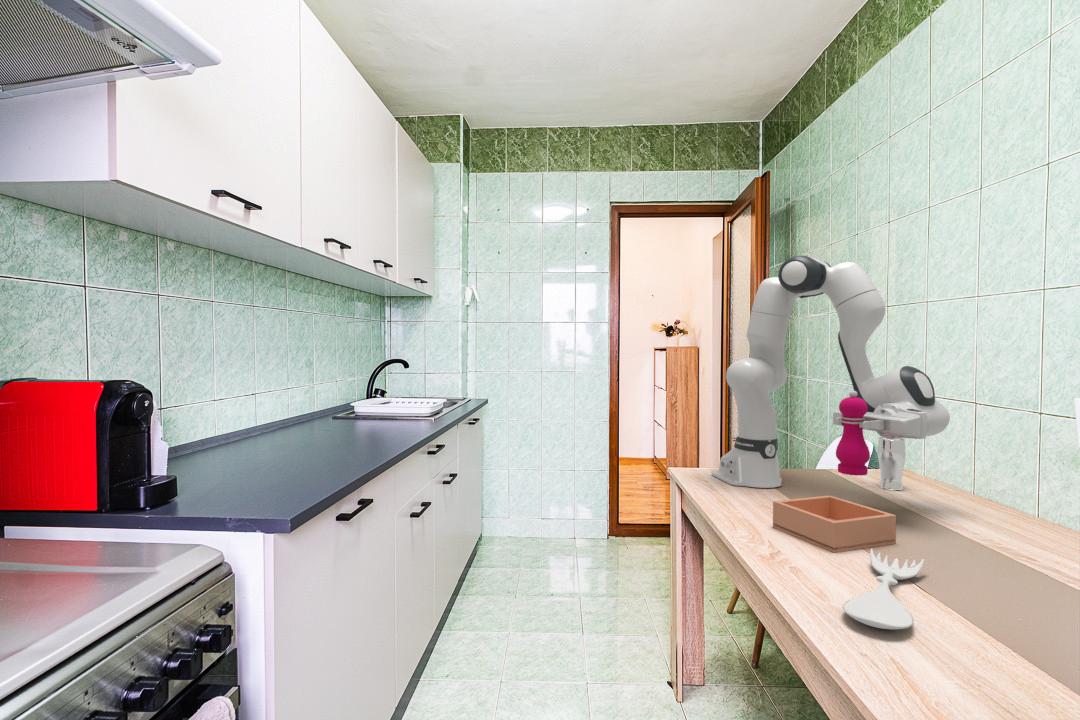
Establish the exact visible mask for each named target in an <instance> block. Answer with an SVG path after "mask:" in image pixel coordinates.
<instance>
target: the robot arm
mask: <svg viewBox="0 0 1080 720" xmlns="http://www.w3.org/2000/svg"><path fill="white" fill-rule="evenodd" d="M777 274H778V276H772V277H768V278H765V279H763V280H762V281H761V282H760V284H759V286H758V289H757V291H756V294H755V296H754V299H753V302H752V303H753V304H752V306H751V307H752V308H751V311H750V316H749V321H748V327H747V331H746V338H747V340H748V344H749V357H744V358H741V359H738V360H736V361H734V362H733V363H731V364H730V365H729V366H728V367H727V370H726V372H725V378H726V383H727V385H728V386H729V388H730V389H731V390H732V393H733V396H734V399H735V404H736V408H737V409H736V410H737V426H738V427H737V436H736V437H732V442H734V445H733V448H732V449H731V450H728V452H726V453H725V454H723V456H721V457H720V459H719V467H718V470H714V471H712V472H711V476H712V477H715V478H716V479H719V480H721V481H723V482H725V483H727V484H728V485H731V486H738V487H740V486H741V487H749V488H761V489H763V488H764V489H767V488H768V489H769V488H770V489H771V488H777V487H778V488H779V487H780V486H782V485H783V484H782V482H783V478H782V477H781V473H780V462H779V455H778V453H777V451H778V449H779V448H778V447H779V442H778V440H779V439H778V438H777V412H776V410H775V409H774V407H773V404H772V401H771V398H770V397H771V396H770V393H773V392H775V391H776V390H778V389H780V388H781V387H783V386H784V384H786V383H787V379H788V370H787V368H786V364H785V363H786V361H785V356H786V355H785V344H786V337H787V331H788V327H789V322H790V317H791V313H792V309H793V308H792V307H793V304H794V302H795V301H796V300H797V299H798V298H799V299H805V298H810V297H818V296H820V295H823V294H824V295H826V296H827V297H828V298H829V300H830V301H831V304H832V306H833V307H834V309H835V311H836V314H837V317H838V323H839V331H838V333H837V340H838V345H839V348H840V352H841V354H842V357H843V360H844V363H845V366H846V370H847V372H848V375H849V378H850V381H851V384H852V387H853V391H856V392H857V394H858V395H857V397H858V398H861V399H863V400H864V401H865V402H866V404H867V408H868V410H867V413H866V414H865V415H864V416H863V418H865V420H864V421H860V422H859V424H860V425H859V427H860V428H862V429H863V430H867V431H873V432H876V433H877V434H878V435H879V436H880V437H884V438H886V439H915V440H917V439H918V440H924V439H926V438H927V437H931V436H934V435H938V434H940V433H942V432H944V430H946V429H947V427H948V425H949V424H950V421H951V420H950V418H951V416H950V413H949V410H948V409H947V407H945V406H944V405H943V404H941V403H940V402H939V401H938V400H937V399H936V393H935V388H934V385H933V383H932V381H931V379H930V377H929V375H927V374H926V373H925V372H923V371H922V370H920V369H918V368H916V367H913V366H909V365H905V366H902V367H900V368H899V367H898V368H897V369H895V370H892V371H890V372H887V373H885V374H883V375H881V376H878V377H875V376H874V373H873V370H872V368H871V364H870V361H869V359H868V357H867V353H866V346H867V342H868V341H869V339H870V337H871V336H872V334H873V333H874V332H875V331H876V330H877V329H878V327H879V326H880V325H881V323H882V322H883V320H884V318H885V314H886V306H885V302H884V300H883V297H882V296H881V294H880V292H879V290H878V289H877V287H876V285H875V284H874V283H873V281H872V279H871V278H870V276H869V275H868V274H867V273H866V271H865V270H864V269H863V268H862V267H861V266H860V264H858V263H857V262H853V261H844V262H840V263H837V264H835V265H833V266H831V265H830V264H829V263H828V262H826V261H825V260H821V258H817V257H814V256H807V255H794V256H792V257H790V258H787V259H786V260H785V261H784V262H783V263H781V265H780V267H779V270H778V273H777ZM842 416H843V414H842V413H841V412H840V410H834V411H833V413H832V423H833V425H836V426H841V427H843V423H842V422H841V421H842V418H841V417H842Z"/></svg>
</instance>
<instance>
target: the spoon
mask: <svg viewBox="0 0 1080 720" xmlns="http://www.w3.org/2000/svg"><path fill="white" fill-rule="evenodd" d="M881 557H882V556H881V552H878V554H877V556H876V555H875V553H874V549H873V548H871V549H870V551H869V561H870V564H871V566H872V568H873V569H874V570H875V571H876V572H877V573H878V574H880V575H878V576H876V578H875V579H876V581H877V582H879V583H881V584H880V585H879V587H877V588H875V589H873V590H872V591H868V592H866V593H863V594H860V595H857V596H854V597H852V598H850V599H848V600H847V601H845V602H844V603H843V604H842V610H843V611H844V613H846V614H847V615H848V616H849V617H850V618H852V619H854V620H855V621H858V622H860V623H862V624H863V625H866V626H869V627H873V628H877V629H881V630H882V629H884V630H892V631H893V630H903V629H909V628H910V627H911V626H913V625H914V617H913V614H912V613H911V612H910V611H909V609H908V608H907V607H906V606H905V605H903V604H902V603H901V601H899V599H898V598H896V596H895V595H894V594H893V593H892V592H891V590H890V586H895V585H898V583H899V582H898V581H900V580H902V581H903V580H908V579H911V578H914V577H916V576H917V575H918V574H919V573H920V571H922V569H923V568H924V566H925V559H924V558H922V559H921V561H920V562H919V563H918V564H917V562H916V559H914V560H913V561H912V563H911V564H910V566H909V560H908V558H907V559H906V560H904V564H903V565H902V567H901V566H900V560H899V558H898V557H896V558H894V559H893V562H892V563H891V565H889V557H888V555H887V554H886V555H885V557H884V559H883V561H882V558H881Z"/></svg>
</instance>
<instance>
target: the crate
mask: <svg viewBox="0 0 1080 720" xmlns="http://www.w3.org/2000/svg"><path fill="white" fill-rule="evenodd" d="M772 528H774V529H777V530H779V531H780V532H781V531H782V532H784V533H786V534H788V535H791V536H792V537H793V536H794V537H796V538H798V539H800V540H803V541H805V542H808V543H810V544H813V545H815V546H817V547H820V548H822V549H825V550H827V551H829V552H832V553H841V552H847V551H854V550H861V549H868V548H875V547H880V546H887V545H894V544H896V542H897V536H896V535H897V533H896V531H897V515H896V514H893V513H890V512H887V511H883V510H879V509H876V508H873V507H869V506H866V505H864V504H863V505H862V504H860V503H857V502H854V501H850V500H846V499H842V498H840V497H837V496H833V495H823V496H822V495H820V496H813V497H804V498H791V499H781V500H775V501H772Z"/></svg>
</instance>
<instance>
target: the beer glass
mask: <svg viewBox="0 0 1080 720" xmlns="http://www.w3.org/2000/svg"><path fill="white" fill-rule="evenodd" d="M905 442H906V438H902V439H886V438H884V437H882V436H880V437H878V444H877V457H878V466H879V471H880V481H879V485H878V486H880V487H882V488H886V489H893V490H902V489H903V490H904V486H903V472H904V467H905V463H906V443H905ZM880 487H879V488H880ZM882 488H881V489H882ZM903 490H902V491H903Z"/></svg>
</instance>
